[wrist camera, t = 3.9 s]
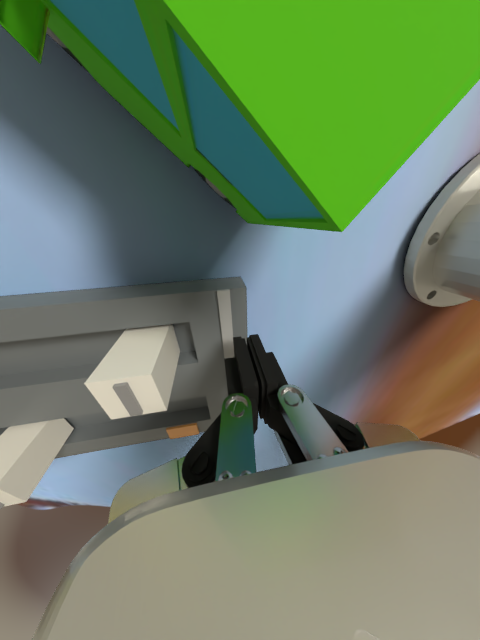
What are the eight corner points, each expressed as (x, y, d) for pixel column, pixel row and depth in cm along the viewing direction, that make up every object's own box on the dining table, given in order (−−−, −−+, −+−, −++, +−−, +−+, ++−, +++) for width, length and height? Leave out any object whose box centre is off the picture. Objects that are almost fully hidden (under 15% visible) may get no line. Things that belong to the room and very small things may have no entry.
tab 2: (171, 320, 13) (149, 377, 8) (180, 351, 14) (166, 413, 10) (128, 325, 12) (81, 387, 8) (142, 356, 14) (109, 423, 9)
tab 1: (56, 410, 16) (-9, 491, 11) (74, 428, 17) (23, 505, 12) (19, 416, 15) (-65, 501, 11) (40, 434, 17) (-25, 515, 12)
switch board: (240, 276, 13) (246, 288, 11) (245, 403, 21) (249, 425, 19) (-185, 311, 10) (-297, 337, 8) (8, 442, 19) (-21, 474, 16)
